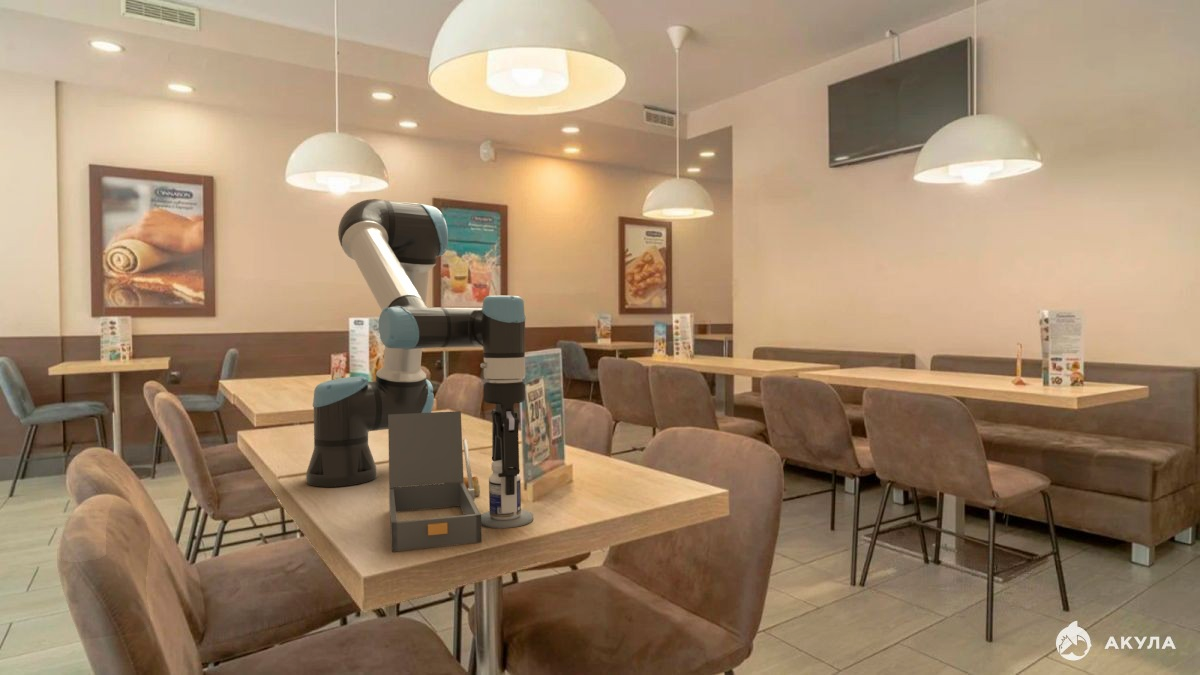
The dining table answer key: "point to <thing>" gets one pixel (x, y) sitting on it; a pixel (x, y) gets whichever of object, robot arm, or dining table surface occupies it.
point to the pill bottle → (496, 494)
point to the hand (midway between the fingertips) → (505, 506)
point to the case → (430, 481)
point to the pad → (519, 521)
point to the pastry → (475, 485)
